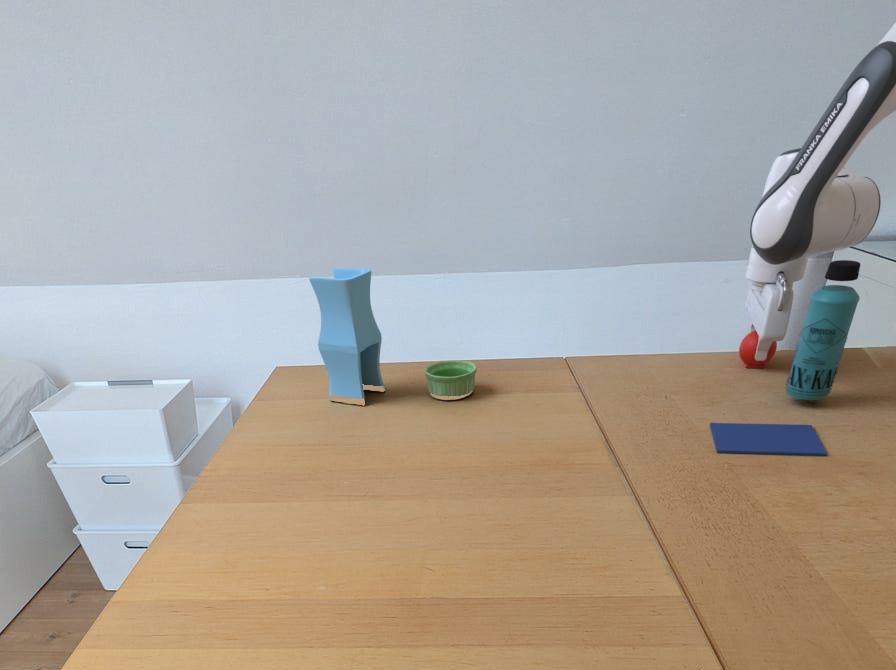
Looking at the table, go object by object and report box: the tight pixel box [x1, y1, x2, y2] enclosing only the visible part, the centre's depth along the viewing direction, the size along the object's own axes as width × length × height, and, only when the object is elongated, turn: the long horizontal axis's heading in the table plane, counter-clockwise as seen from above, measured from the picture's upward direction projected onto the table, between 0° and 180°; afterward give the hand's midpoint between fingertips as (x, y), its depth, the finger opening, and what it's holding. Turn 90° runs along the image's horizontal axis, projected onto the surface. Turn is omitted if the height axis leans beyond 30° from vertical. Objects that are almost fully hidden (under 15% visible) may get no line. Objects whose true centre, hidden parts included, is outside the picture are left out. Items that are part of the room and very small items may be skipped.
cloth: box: [709, 422, 828, 457], centre depth 100 cm, size 14×10×1 cm
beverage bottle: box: [784, 259, 861, 401], centre depth 104 cm, size 6×7×20 cm
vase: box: [308, 267, 385, 399], centre depth 119 cm, size 8×8×20 cm
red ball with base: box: [738, 330, 778, 369], centre depth 122 cm, size 6×6×7 cm
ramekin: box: [424, 359, 477, 397], centre depth 122 cm, size 9×9×4 cm
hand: (756, 352), depth 123 cm, fingers closed on red ball with base, 6 cm apart
